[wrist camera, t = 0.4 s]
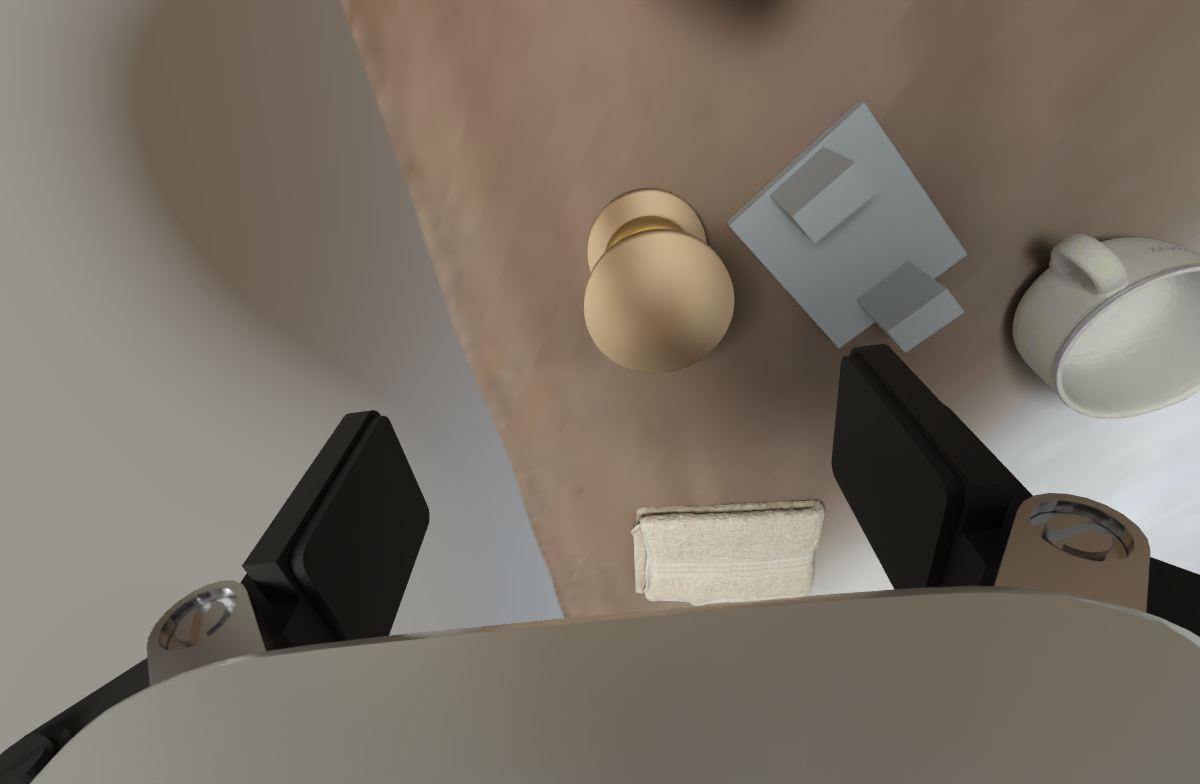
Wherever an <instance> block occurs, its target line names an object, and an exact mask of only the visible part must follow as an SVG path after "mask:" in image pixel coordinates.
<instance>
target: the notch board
mask: <svg viewBox="0 0 1200 784" xmlns="http://www.w3.org/2000/svg"><path fill="white" fill-rule="evenodd" d="M726 222H727V224H728V225H729V227H730V228H731V229H732V230H733V231H734V232H735V233H736V234H737V236H738V237H739V238H740V239H741V240H742V241H743V242H744V243H745V244H746V246H747V247H748V248H749V249H750V250H751V251H752V252H753V253H754V254H755V256H756V257H757V258H758V259H759V260H760V261H761V262H762V263H763V265H764V266H765V267H766V268H767V269H768V270H769V271H770V272H771V273H772V275H773V276H774V277H775V278H776V279H777V280H778V281H779V282H780V283H781V285H782V286H783V287H784V288H785V289H786V290H787V291H788V292H789V293H790V295H791V296H792V297H793V298H794V299H795V300H796V301H797V302H798V304H799V305H800V306H801V307H802V308H803V309H804V310H805V311H806V312H807V314H808V315H809V316H810V317H811V318H812V319H813V320H814V321H815V322H816V324H817V325H818V326H819V327H820V328H821V329H822V330H823V331H824V333H825V334H826V335H827V336H828V337H829V338H830V339H831V340H832V341H833V343H834V344H835V345H836V346H837V347H838V348H841V347H842V346H843V345H845V344H846V343H847V342H849V341H850V340H851V339H853V338H854V337H856V336H857V335H858V334H860V333H861V332H862V331H864V330H865V329H867V328H868V327H869V326H871V325H872V324H873V323H875V322H876V324H877V325H878V326H879V327H880V328H881V329H882V330H883V331H884V332H885V333H886V334H887V335H888V336H889V337H890V338H891V339H892V340H893V341H894V342H895V343H896V344H897V345H898V346H899V347H900V348H901V349H902V350H903V351H904V352H905V353H906V352H908V351H909V350H910V349H912V348H913V347H915V346H916V345H918V344H919V343H921V342H922V341H923V340H925V339H926V338H928V337H929V336H931V335H932V334H934V333H935V332H937V331H938V330H939V329H941V328H942V327H944V326H945V325H947V324H948V323H950V322H951V321H952V320H954V319H955V318H957V317H958V316H960V315H961V314H963V313H964V311H963V309H962V308H961V306H960V305H959V304H958V302H957V301H956V300H955V298H954V297H953V295H952V294H951V293H950V291H949V290H948V289H947V288H946V287H945V286H943V285H942V284H940V283H939V282H938V281H936V280H935V278H936V277H938V276H939V275H940V274H942V273H943V272H944V271H946V270H947V269H949V268H950V267H951V266H953V265H954V264H955V263H957V262H958V261H960V260H961V259H962V258H964V257H965V256H966V255H968V254H967V252H966V251H965V250H964V248H963V247H962V245H961V244H960V242H959V241H958V239H957V238H956V236H955V235H954V233H953V232H952V230H951V229H950V228H949V226H948V225H947V223H946V222H945V220H944V219H943V217H942V216H941V214H940V213H939V211H938V210H937V208H936V207H935V206H934V204H933V203H932V201H931V200H930V198H929V197H928V195H927V194H926V192H925V191H924V189H923V188H922V186H921V185H920V184H919V182H918V181H917V179H916V178H915V176H914V175H913V173H912V172H911V170H910V169H909V167H908V166H907V165H906V163H905V162H904V160H903V159H902V157H901V156H900V154H899V153H898V151H897V150H896V148H895V147H894V145H893V144H892V143H891V141H890V140H889V138H888V137H887V135H886V134H885V132H884V131H883V129H882V128H881V126H880V125H879V123H878V122H877V121H876V119H875V118H874V116H873V115H872V113H871V112H870V110H869V109H868V107H867V106H866V104H865V103H864V102H860V101H857V102H856V103H855V104H854V105H853V106H851V107H850V108H849V109H848V110H847V111H846V112H845V113H844V114H843V115H842V116H841V117H840V118H838V119H837V120H836V121H835V122H834V123H833V124H832V125H831V126H830V127H829V128H828V129H826V130H825V131H824V132H823V133H822V134H821V135H820V136H819V137H818V138H817V139H816V140H815V141H813V142H812V143H811V144H810V145H809V146H808V147H807V148H806V149H805V150H804V151H803V152H801V153H800V154H799V155H798V156H797V157H796V158H795V159H794V160H793V161H792V162H791V163H789V164H788V165H787V166H786V167H785V168H784V169H783V170H782V171H781V172H780V173H779V174H778V175H776V176H775V177H774V178H773V179H772V180H771V181H770V182H769V183H768V184H767V185H766V186H764V187H763V188H762V189H761V190H760V191H759V192H758V193H757V194H756V195H755V196H754V197H753V198H751V199H750V200H749V201H748V202H747V203H746V204H745V205H744V206H743V207H742V208H741V209H739V210H738V211H737V212H736V213H735V214H734V215H733V216H732V217H731V218H730V219H729V220H728V221H726Z"/></svg>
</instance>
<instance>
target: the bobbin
mask: <svg viewBox="0 0 1200 784" xmlns="http://www.w3.org/2000/svg"><path fill="white" fill-rule="evenodd" d="M588 263H589V267H590V271H591V273H590V276H589V278H588V282H587V285H586V290H585V300H584V314H585V321H586V325H587V328H588V331H589V333H590V336H591V337H592V339H593V341H594V343H595V344H596V345H597V347H598V348H599V349H600V350H601V351H602V352H603V353H604V354H605V355H606V356H607V357H608V358H610V359H611V360H612V361H614V362H616V363H617V364H619V365H621V366H623V367H625V368H628V369H631V370H634V371H638V372H644V373H666V372H672V371H676V370H679V369H683V368H685V367H688V366H690V365H692V364H694V363H696V362H697V361H699V360H701V359H702V358H703V357H705V356H706V355H707V354H709V353H710V352H711V351H712V350H713V349H714V348H715V347H716V346H717V344H718V343H719V342H720V341H721V339H722V338H723V336H724V335H725V333H726V331H727V329H728V327H729V325H730V322H731V319H732V315H733V310H734V289H733V285H732V281H731V278H730V276H729V273H728V271H727V269H726V268H725V266H724V264H723V262H722V261H721V259H720V257H719V256H718V255H717V254H716V252H715V251H714V250H713V249H712V248H711V247H710V246H709V245H708V244H707V242H706V236H705V232H704V229H703V226H702V224H701V222H700V220H699V218H698V216H697V215H696V213H695V211H694V210H693V209H692V208H691V206H690V205H689V204H687V203H686V202H685V201H684V200H683V199H681V198H680V197H679V196H677V195H675V194H673V193H671V192H668V191H665V190H660V189H653V188H645V189H637V190H633V191H630V192H627V193H624V194H622V195H620V196H618V197H617V198H615V199H614V200H612V201H611V202H610V203H609V204H608V205H606V206H605V207H604V208H603V210H602V211H601V212H600V213H599V215H598V216H597V218H596V219H595V221H594V224H593V226H592V228H591V231H590V234H589V240H588Z"/></svg>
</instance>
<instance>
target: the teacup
mask: <svg viewBox="0 0 1200 784" xmlns="http://www.w3.org/2000/svg"><path fill="white" fill-rule="evenodd" d="M1013 338H1014V342H1015V345H1016V348H1017V350H1018V352H1019V353H1020V355H1021V357H1022V358H1023V359H1024V361H1025V362H1026V363H1027V364H1028V365H1029V366H1030V367H1031V369H1032V370H1033V371H1034V372H1035V373H1036V374H1037V375H1038V376H1039V377H1040V378H1041V379H1042V380H1043V381H1044V382H1045V383H1046V384H1047V385H1048V386H1050V387H1051V388H1052V389H1053V390H1054V391H1055V392H1056V393H1057V394H1058V395H1059V397H1060V399H1061V400H1062V401H1063V402H1064V403H1065V404H1066V405H1067V406H1069V407H1070V408H1072V409H1073V410H1075V411H1076V412H1078V413H1081V414H1084V415H1087V416H1091V417H1096V418H1125V417H1131V416H1137V415H1141V414H1145V413H1148V412H1152V411H1155V410H1159V409H1162V408H1164V407H1166V406H1169V405H1172V404H1175V403H1178V402H1180V401H1183V400H1185V399H1187V398H1188V397H1189V396H1191V395H1193V394H1195V393H1196V392H1198V391H1200V254H1199V253H1196V252H1194V251H1191V250H1188V249H1186V248H1183V247H1181V246H1178V245H1175V244H1172V243H1168V242H1165V241H1161V240H1157V239H1150V238H1143V237H1125V238H1115V239H1110V240H1106V241H1102V242H1100V241H1098V240H1096V239H1095V238H1093V237H1091V236H1088V235H1084V234H1076V235H1072V236H1070V237H1067V238H1066V239H1064V240H1063V241H1061V242H1060V243H1059V244H1058V245H1056V246H1055V247H1054V248H1053V250H1052V252H1051V260H1050V262H1049V268H1048V269H1047V270H1046V271H1045V272H1044V273H1043V274H1041V275H1040V276H1039V277H1038V278H1037V279H1036V280H1035V281H1034V282H1033V284H1032V285H1031V286H1030V287H1029V288H1028V290H1027V291H1026V293H1025V294H1024V296H1023V297H1022V299H1021V301H1020V303H1019V304H1018V307H1017V309H1016V312H1015V316H1014V321H1013Z"/></svg>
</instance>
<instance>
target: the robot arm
mask: <svg viewBox="0 0 1200 784" xmlns="http://www.w3.org/2000/svg"><path fill="white" fill-rule="evenodd" d="M832 469H833V474H834V477H835V479H836V481H837V483H838V485H839V487H840V489H841V490H842V492H843V494H844V496H845V498H846V500H847V502H848V503H849V505H850V507H851V509H852V511H853V513H854V515H855V516H856V518H857V520H858V522H859V524H860V526H861V528H862V530H863V531H864V533H865V535H866V537H867V539H868V541H869V543H870V544H871V546H872V548H873V550H874V552H875V554H876V556H877V558H878V559H879V561H880V563H881V565H882V567H883V569H884V571H885V572H886V574H887V576H888V578H889V580H890V582H891V584H892V586H893V587H894V589H895V590H883V591H869V592H856V593H842V594H828V595H816V596H805V597H794V598H783V599H771V600H760V601H749V602H738V603H726V604H715V605H704V606H693V607H681V608H671V609H660V610H649V611H639V612H628V613H617V614H607V615H596V616H585V617H575V618H565V619H555V620H545V621H534V622H523V623H512V624H502V625H493V626H482V627H473V628H462V629H453V630H442V631H433V632H424V633H413V634H403V635H393V636H389V634H390V631H391V628H392V625H393V622H394V620H395V617H396V614H397V611H398V608H399V606H400V603H401V600H402V597H403V594H404V591H405V589H406V586H407V583H408V580H409V578H410V575H411V572H412V569H413V566H414V564H415V560H416V558H417V555H418V552H419V549H420V547H421V544H422V541H423V538H424V535H425V533H426V530H427V527H428V524H429V509H428V506H427V504H426V501H425V499H424V497H423V495H422V492H421V490H420V488H419V485H418V483H417V481H416V479H415V476H414V474H413V472H412V470H411V467H410V465H409V463H408V461H407V458H406V456H405V454H404V452H403V450H402V447H401V445H400V442H399V440H398V438H397V436H396V434H395V431H394V429H393V427H392V425H391V422H390V420H389V419H388V418H387V417H386V416H381V415H380V414H379V413H378V412H377V411H375V410H372V411H364V412H358V413H349V414H346V415H345V416H344V417H343V419H342V420H341V422H340V424H339V425H338V426H337V428H336V429H335V431H334V433H333V434H332V435H331V437H330V438H329V439H328V441H327V442H326V444H325V445H324V447H323V448H322V450H321V451H320V453H319V454H318V456H317V457H316V458H315V460H314V462H313V463H312V464H311V466H310V467H309V469H308V470H307V472H306V473H305V475H304V476H303V477H302V479H301V480H300V482H299V483H298V485H297V486H296V488H295V489H294V491H293V492H292V494H291V495H290V496H289V498H288V499H287V501H286V502H285V504H284V505H283V507H282V508H281V510H280V511H279V513H278V514H277V516H276V517H275V518H274V520H273V521H272V523H271V524H270V526H269V527H268V529H267V530H266V531H265V533H264V535H263V536H262V537H261V539H260V540H259V542H258V543H257V545H256V546H255V548H254V549H253V551H252V552H251V553H250V555H249V556H248V558H247V559H246V561H245V562H244V564H243V565H242V567H243V568H244V569H245V571H246V572H247V574H246V575H245V577H244V578H243V580H242V581H241V583H239V582H236V581H233V580H231V581H220V582H215V583H212V584H208V585H206V586H204V587H202V588H199V589H197V590H195V591H193V592H191V593H190V594H188V595H187V596H185V597H184V598H182V599H181V600H179V601H178V602H177V603H176V604H174V605H173V606H172V607H171V608H170V609H169V610H167V611H166V612H165V613H164V615H163V616H162V617H161V618H160V619H159V621H158V622H157V623H156V624H155V626H154V627H153V629H152V631H151V633H150V635H149V637H148V642H147V657H148V658H146V659H145V660H143V661H141V662H140V663H138V664H137V665H135V666H134V667H132V668H130V669H129V670H127V671H126V672H124V673H123V674H121V675H120V676H118V677H116V678H115V679H113V680H112V681H110V682H109V683H107V684H105V685H104V686H102V687H101V688H99V689H98V690H96V691H95V692H93V693H91V694H90V695H88V696H87V697H85V698H84V699H82V700H80V701H79V702H78V703H76V704H74V705H73V706H71V707H70V708H68V709H66V710H65V711H64V712H62V713H60V714H59V715H57V716H55V717H54V718H52V719H51V720H50V721H48V722H46V723H45V724H43V725H41V726H40V727H39V728H37V729H35V730H34V731H32V732H31V733H29V734H27V735H26V736H24V737H23V738H22V739H20V740H19V741H18V742H16V743H15V744H13V745H12V746H10V747H9V748H8V749H7V750H5V751H4V752H3V753H2V754H1V755H0V784H1200V575H1199V574H1196V573H1193V572H1190V571H1188V570H1185V569H1182V568H1179V567H1176V566H1174V565H1171V564H1168V563H1165V562H1163V561H1160V560H1157V559H1154V558H1151V557H1150V547H1149V543H1148V539H1147V538H1146V536H1145V535H1144V534H1143V532H1142V531H1141V530H1140V528H1139V527H1138V526H1137V525H1136V524H1135V523H1133V522H1132V521H1131V520H1130V519H1128V518H1127V517H1126V516H1125V515H1123V514H1121V513H1119V512H1118V511H1116V510H1114V509H1112V508H1110V507H1108V506H1107V505H1104V504H1102V503H1099V502H1096V501H1093V500H1091V499H1088V498H1084V497H1079V496H1075V495H1070V494H1057V493H1047V494H1041V495H1035V496H1033V495H1032V494H1031V493H1030V492H1029V491H1028V490H1027V489H1026V488H1025V487H1024V486H1023V485H1022V484H1021V483H1020V482H1019V481H1018V480H1017V479H1016V478H1015V476H1014V475H1013V474H1012V473H1011V472H1010V471H1009V470H1008V469H1007V468H1006V467H1005V466H1004V465H1003V464H1002V463H1001V462H1000V461H999V460H998V459H997V458H996V456H995V455H994V454H993V453H992V452H991V451H990V450H989V449H988V448H987V447H986V446H985V445H984V444H983V443H982V442H981V441H980V440H979V439H978V438H977V436H976V435H975V434H974V433H973V432H972V431H971V430H970V429H969V428H968V427H967V426H966V425H965V424H964V423H963V422H962V421H961V420H960V419H959V418H958V417H957V415H956V414H955V413H954V412H953V411H952V410H951V409H950V408H948V407H947V406H946V405H944V404H942V402H941V401H940V400H939V399H938V398H937V397H936V396H935V395H934V394H933V393H932V392H931V391H930V390H929V389H928V388H927V387H926V386H925V384H924V383H923V382H922V381H921V380H920V379H919V378H918V377H917V376H916V375H915V374H914V373H913V372H912V371H911V370H910V369H909V367H908V366H907V365H906V364H905V363H904V362H903V361H902V360H901V359H900V358H899V357H898V356H897V355H896V354H895V353H894V352H893V351H892V349H891V348H890V347H889V346H887V345H886V344H878V345H870V346H863V347H855V348H853V349H852V351H851V353H850V356H844V357H843V358H842V361H841V369H840V379H839V390H838V400H837V411H836V421H835V431H834V442H833V452H832Z"/></svg>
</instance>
